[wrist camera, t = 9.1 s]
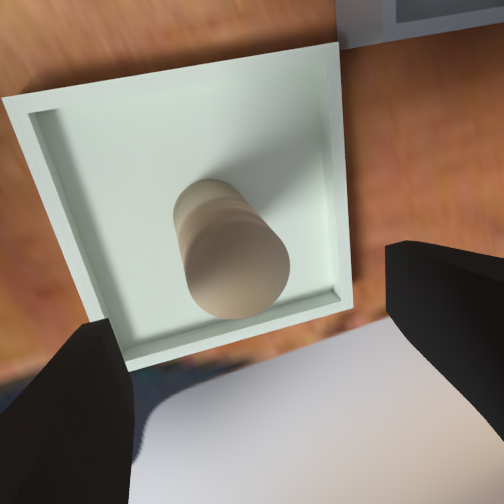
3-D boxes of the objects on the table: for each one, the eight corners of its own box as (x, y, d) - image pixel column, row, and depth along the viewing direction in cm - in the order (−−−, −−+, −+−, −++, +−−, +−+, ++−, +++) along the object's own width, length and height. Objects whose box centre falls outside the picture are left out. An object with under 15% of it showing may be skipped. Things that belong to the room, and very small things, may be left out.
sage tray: (321, 45, 16) (338, 41, 15) (339, 292, 21) (353, 307, 20) (15, 96, 14) (1, 97, 13) (114, 355, 19) (111, 376, 18)
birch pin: (240, 172, 17) (284, 212, 12) (250, 240, 18) (294, 305, 13) (165, 187, 16) (175, 236, 11) (181, 256, 18) (198, 330, 12)
